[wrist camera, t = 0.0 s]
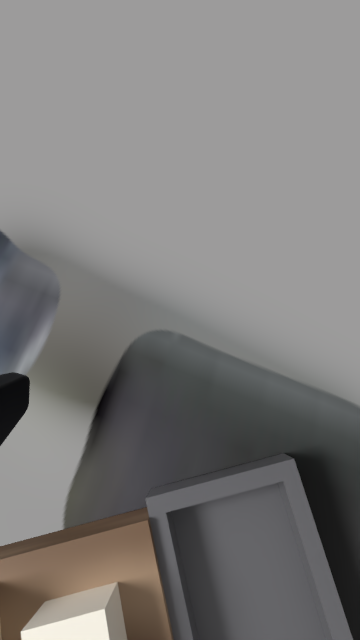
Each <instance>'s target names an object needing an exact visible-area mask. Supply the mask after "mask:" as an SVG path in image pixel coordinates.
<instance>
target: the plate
mask: <svg viewBox="0 0 360 640" xmlns="http://www.w3.org/2000/svg"><path fill="white" fill-rule="evenodd" d="M115 582H118V588H119V594H120V600H121V606H122V612H123V618H124V623H125V629H126V635H127V640H174V638H173V633H172V628H171V623H170V618H169V613H168V609H167V604H166V599H165V594H164V589H163V584H162V579H161V574H160V569H159V564H158V559H157V554H156V549H155V544H154V539H153V534H152V529H151V524H150V519H149V514H148V509H147V507H146V508H142V509H138V510H135V511H131V512H127V513H123V514H120V515H116V516H112V517H109V518H105V519H101V520H97V521H94V522H90V523H86V524H82V525H79V526H75V527H71V528H67V529H64V530H60V531H57V532H53V533H49V534H46V535H41V536H38V537H34V538H30V539H26V540H23V541H19V542H15V543H12V544H8V545H4V546H0V625H1V637H2V640H21V631H22V629H23V628H24V627H25V626H26V624H27V623H28V622H29V621H30V620H31V618H32V617H33V616H34V615H35V613H36V612H37V611H38V610H39V608H40V607H41V606H42V605H43V603H44V602H45V601H48V600H52V599H56V598H60V597H63V596H67V595H71V594H74V593H78V592H82V591H85V590H89V589H93V588H96V587H100V586H104V585H108V584H111V583H115Z"/></svg>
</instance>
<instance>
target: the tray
mask: <svg viewBox="0 0 360 640" xmlns="http://www.w3.org/2000/svg"><path fill="white" fill-rule="evenodd" d="M145 499H146V504H147V509H148V514H149V519H150V524H151V529H152V534H153V539H154V544H155V549H156V554H157V559H158V564H159V569H160V574H161V579H162V584H163V589H164V594H165V599H166V604H167V609H168V613H169V618H170V623H171V628H172V633H173V638H174V640H353V638H352V635H351V632H350V629H349V626H348V623H347V620H346V617H345V613H344V610H343V607H342V604H341V601H340V598H339V595H338V592H337V589H336V586H335V583H334V580H333V577H332V574H331V571H330V567H329V564H328V561H327V558H326V555H325V552H324V549H323V546H322V543H321V540H320V537H319V534H318V531H317V528H316V524H315V521H314V518H313V515H312V512H311V509H310V506H309V503H308V500H307V497H306V494H305V491H304V488H303V485H302V481H301V478H300V475H299V472H298V469H297V466H296V463H295V460H294V458H292V457H290V456H288V455H286V454H284V453H282V454H279V455H275V456H271V457H268V458H264V459H260V460H256V461H253V462H249V463H245V464H241V465H238V466H234V467H230V468H226V469H223V470H219V471H215V472H211V473H208V474H204V475H200V476H196V477H193V478H189V479H185V480H182V481H178V482H174V483H170V484H167V485H163V486H159V487H155V488H152V489H151V490H150V492H149V493H148V495H147V496H146V498H145Z"/></svg>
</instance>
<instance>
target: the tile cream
mask: <svg viewBox="0 0 360 640" xmlns="http://www.w3.org/2000/svg"><path fill="white" fill-rule="evenodd" d="M21 640H127V635H126V629H125V623H124V618H123V612H122V606H121V600H120V594H119V588H118V582H115V583H111V584H108V585H104V586H100V587H96V588H93V589H89V590H85V591H82V592H78V593H74V594H71V595H67V596H63V597H60V598H56V599H52V600H48V601H45V602H44V603H43V605H42V606H41V607H40V608H39V610H38V611H37V612H36V613H35V615H34V616H33V617H32V618H31V620H30V621H29V622H28V623H27V624H26V626H25V627H24V628H23V629H22V631H21Z"/></svg>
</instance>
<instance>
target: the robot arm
mask: <svg viewBox="0 0 360 640" xmlns="http://www.w3.org/2000/svg"><path fill="white" fill-rule="evenodd" d="M29 386H30V381H29V378H28V377H27V376H26V375H22V374H19V373H14V372H12V373H7V374H2V375H0V446H1V444H2V443H3V442H4V440H5V439H6V437H7V436H8V435H9V434H10V432H11V431H12V429H13V428H14V427H15V425H16V424H17V423H18V421H19V420H20V419H21V417H22V416H23V415H24V413H25V412H26V410H27V408H28V404H29Z"/></svg>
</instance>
